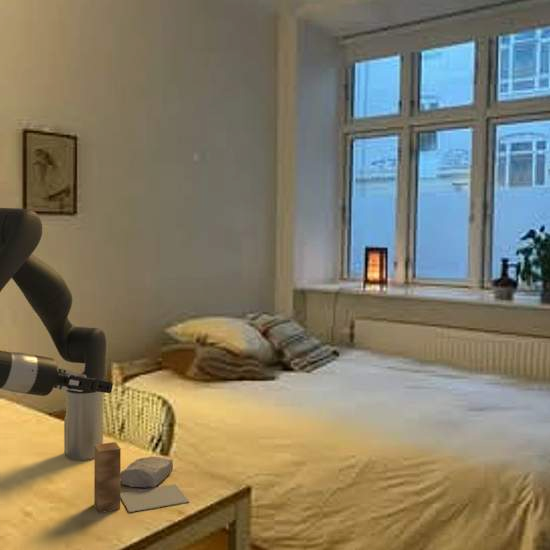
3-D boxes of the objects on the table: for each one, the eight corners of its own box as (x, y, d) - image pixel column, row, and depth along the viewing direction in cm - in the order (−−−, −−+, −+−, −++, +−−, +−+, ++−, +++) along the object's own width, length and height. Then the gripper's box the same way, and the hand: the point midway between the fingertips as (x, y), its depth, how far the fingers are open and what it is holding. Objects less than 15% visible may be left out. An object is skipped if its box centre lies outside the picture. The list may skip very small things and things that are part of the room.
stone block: (117, 493, 145) (158, 488, 143) (114, 472, 145) (154, 467, 143) (139, 476, 157) (177, 471, 155) (136, 457, 157) (173, 452, 155)
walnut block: (98, 512, 132) (98, 451, 131) (94, 504, 136) (94, 444, 135) (120, 509, 134) (120, 448, 133) (115, 500, 138) (115, 442, 137)
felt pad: (129, 513, 132) (129, 511, 132) (118, 494, 141) (118, 493, 141) (189, 502, 138) (189, 501, 138) (175, 485, 147) (175, 484, 147)
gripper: (46, 357, 118) (122, 371, 129) (17, 351, 129) (90, 364, 139) (36, 398, 117) (114, 408, 128) (8, 388, 128) (82, 398, 138)
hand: (101, 385), depth 133 cm, fingers open, 8 cm apart
